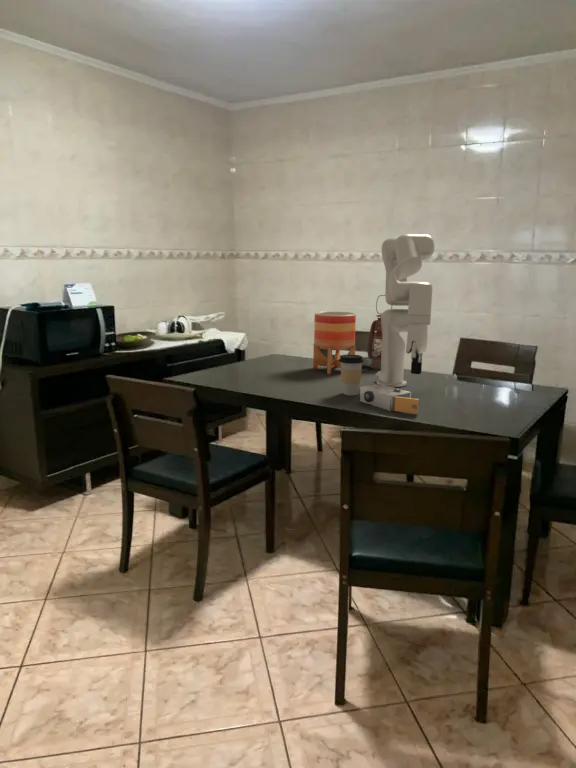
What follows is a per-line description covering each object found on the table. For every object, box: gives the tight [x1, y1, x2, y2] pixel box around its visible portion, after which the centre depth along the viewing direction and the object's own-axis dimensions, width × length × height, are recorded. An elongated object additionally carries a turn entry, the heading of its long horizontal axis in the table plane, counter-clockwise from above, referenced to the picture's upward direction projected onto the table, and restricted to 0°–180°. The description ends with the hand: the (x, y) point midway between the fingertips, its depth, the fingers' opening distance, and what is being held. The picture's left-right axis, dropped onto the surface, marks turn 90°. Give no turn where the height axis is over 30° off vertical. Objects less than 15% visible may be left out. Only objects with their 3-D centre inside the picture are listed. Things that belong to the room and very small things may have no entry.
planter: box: [312, 311, 357, 375], centre depth 264 cm, size 20×20×27 cm
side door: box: [392, 396, 420, 415], centre depth 193 cm, size 1×9×5 cm, turn 64°
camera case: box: [359, 383, 412, 412], centre depth 204 cm, size 16×11×6 cm
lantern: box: [366, 294, 393, 370], centre depth 270 cm, size 11×16×35 cm
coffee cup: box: [339, 354, 364, 396], centre depth 219 cm, size 9×9×15 cm
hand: (416, 373), depth 192 cm, fingers closed
